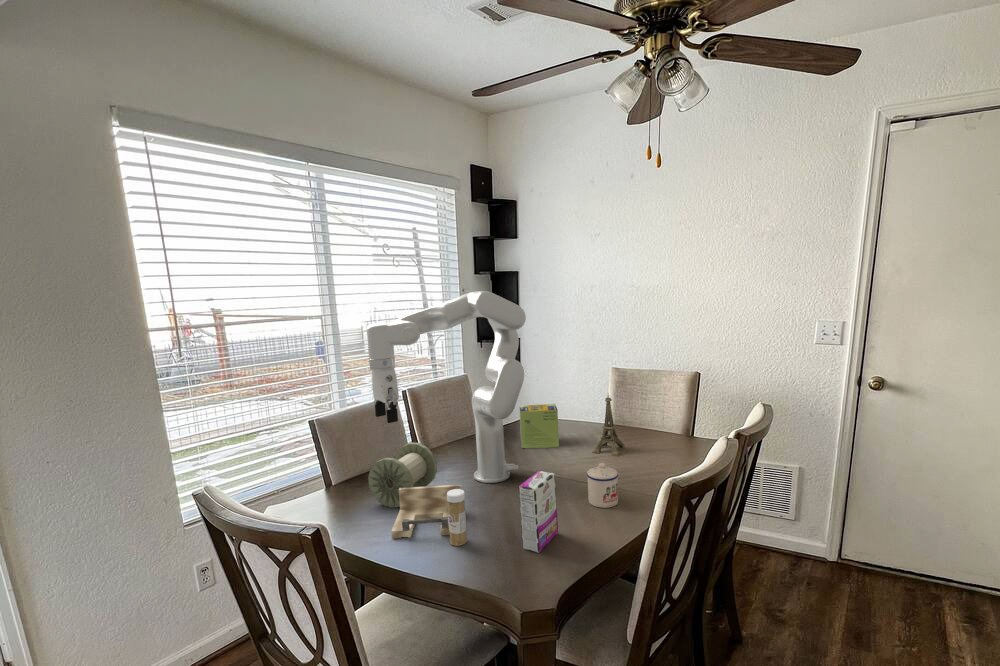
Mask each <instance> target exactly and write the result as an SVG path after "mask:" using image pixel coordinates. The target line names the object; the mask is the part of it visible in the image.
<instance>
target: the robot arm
mask: <svg viewBox="0 0 1000 666" xmlns="http://www.w3.org/2000/svg"><path fill="white" fill-rule="evenodd" d="M526 317H527V315H526V312H525V310H524V309H523V308H522V307H521V306H520V305H518V304H516V303H514V302H512V301H510V300H508V299H506V298H504V297H502V296H501V295H497V294H496V293H493V292H491V291H488V290H479V291H478V290H477V291H470V292H467V293H465V294H462V295H459V296H458V297H457V296H456V297H455V298H454V297H453V298H451V299H449V300H447V301H444V302H441V303H438V304H436V305H432V306H430V307H428V308H425V309H422V310H419V311H416V312H413V313H410V314H407V315H405V316H403V317H400V318H398V319H396V320H393V321H392V322H389V323H388V322H378V323H377V322H376V323H370V324H368V326H367V327H366V335H367V348H368V363H369V370H370V371H371V383H372V387H371V388H372V395H373V398H374V400H373V403H374V412H375V413H374V415H375V417H376V418H379V417H383V416H386V422H387V423H388V424H392V423H397V422H398V421H399V419H398V418H399V414H398V403H399V402H398V400H399V399H400V396H399V386H398V379H397V374H396V370H395V369H396V361H395V359H396V357H395V346H411V345H414V344H416V343H417V342H418V341H419V340H420V338H421V335H423V334H426V333H431V332H436V331H438V332H439V331H444V330H450V329H453V328H454V327H456V326H459V325H461V324H463V323H465V322H469V321H471V320H474V319H477V318H485V319H487V322H488V323H489V325H490V326H491V328H492V331H493V333H494V342H493V345H492V350H491V352H490V355H489V358H488V360H487V363H486V366H485V370H484V375H485V377H486V380H488V381H489V382H491V383H493V384H495V385H494V386H490V385H483V386H480V387H477V389H475V391H474V392H473V394H472V397H471V407H472V413H473V417H474V423H475V425H474V426H475V438H476V439H475V441H476V443H475V444H476V456H477V457H476V459H477V470H476V471H474V473H473V479H475V481H478V482H479V483H485V484H496V483H500V482H503V481H506V480H508V479H509V478H510V476H511V472H518V471H519V465H518V464H517V465H516V464H515V463H508V462H507V460H506V457H505V455H506V454H505V439H504V437H505V436H504V434H505V433H504V424H503V422H504V421H503V420H505V419H507V418H509V417H510V416H511V415H512V414H513V412H514V409H515V407H516V404H517V402H518V399H519V396H520V393H521V389H522V387H523V385H524V381H525V370H524V366H523V364H522V363H521V362H520V361H519V360H517V359H516V356H517V353H518V349H519V345H520V344H519V343H520V340H519V339H520V337H519V335H518V330H519V329H521V328H522V327H524V326H525V323H526V320H527V318H526Z"/></svg>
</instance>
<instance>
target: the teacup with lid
mask: <svg viewBox="0 0 1000 666" xmlns="http://www.w3.org/2000/svg"><path fill="white" fill-rule="evenodd" d="M586 476H587V494H588V495H587V497H588V498H587V499H588V503H589V504H590V505H592V506H593V507H596V508H601V509H609V508H612V507H615V506H616V505H618V503H619V488H618V485H619V474H618V472H617V469H614V468H612V467H609V466H607V465H606V463H604V462H599V463H598V465H597V466H595V467H591V468H589V469H588V470H587V471H586Z"/></svg>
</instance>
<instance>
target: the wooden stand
mask: <svg viewBox="0 0 1000 666" xmlns="http://www.w3.org/2000/svg"><path fill="white" fill-rule="evenodd" d="M453 489H461V490H462V484H447V485H446V484H444V485H427V486H425V487H409V488H399V501H400V506H399V511H398V514H397V516H396V519H395V521H394V524H393V526H392V529H391V531H390V532H391V539H402V538H401V537H408V538H411V537H412V535H413V532H412V531H414V529H413V528H415V526H416V524H417V525H420V524H433V523H435V524H437V523H438V524H439V523H441V525H440V528H439V529H440V536H450V531H449V510H448V501H447V492H448V491H450V490H453Z"/></svg>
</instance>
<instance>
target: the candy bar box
mask: <svg viewBox="0 0 1000 666" xmlns="http://www.w3.org/2000/svg"><path fill="white" fill-rule="evenodd" d="M556 491H557V490H556V473H554V472H549V471H543V470H538V471H537V472H536V473H534V474H533V475H532V476H530V477H529V478H527V480H525V481H524V482H523V483H521V484H520V485H519V486H518V493H519V494H518V495H519V509H520V520H521V521H520V522H521V524H520V525H521V536H522V540H521V541H522V549H523V550H526V551H530V552H534V553H538V554H539V553H541V552H542V551H543V550H544V549H545V548H546V547H547V546H548V544H549V543H551V541H552V540H553V539H554V538H555V537H556V536H557V535H558V534H559V525H558V524H559V523H558V507H557V492H556Z"/></svg>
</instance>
